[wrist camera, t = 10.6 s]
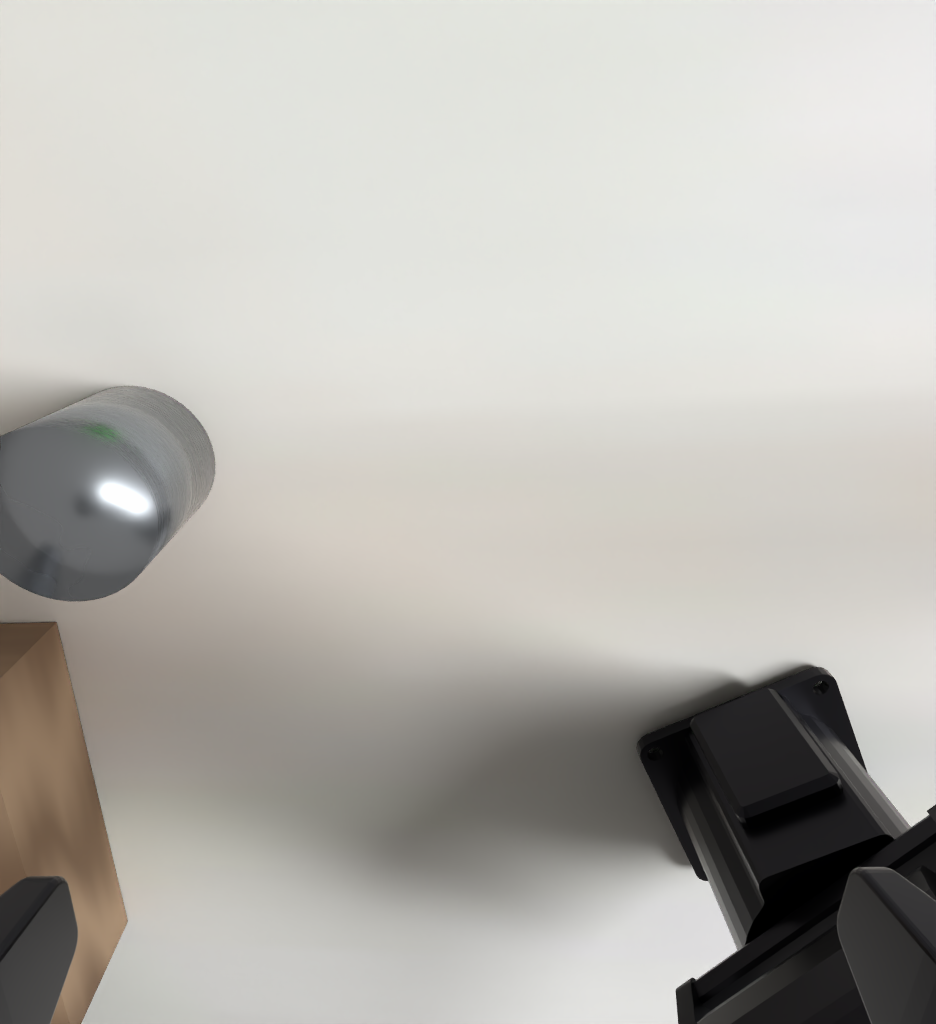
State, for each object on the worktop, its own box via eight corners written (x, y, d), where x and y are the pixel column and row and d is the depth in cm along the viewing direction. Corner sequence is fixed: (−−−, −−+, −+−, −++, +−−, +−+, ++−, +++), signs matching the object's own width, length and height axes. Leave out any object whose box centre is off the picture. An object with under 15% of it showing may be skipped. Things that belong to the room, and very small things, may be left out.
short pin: (243, 490, 20) (191, 556, 16) (122, 549, 21) (40, 628, 16) (161, 359, 19) (81, 394, 15) (33, 425, 19) (-80, 477, 15)
